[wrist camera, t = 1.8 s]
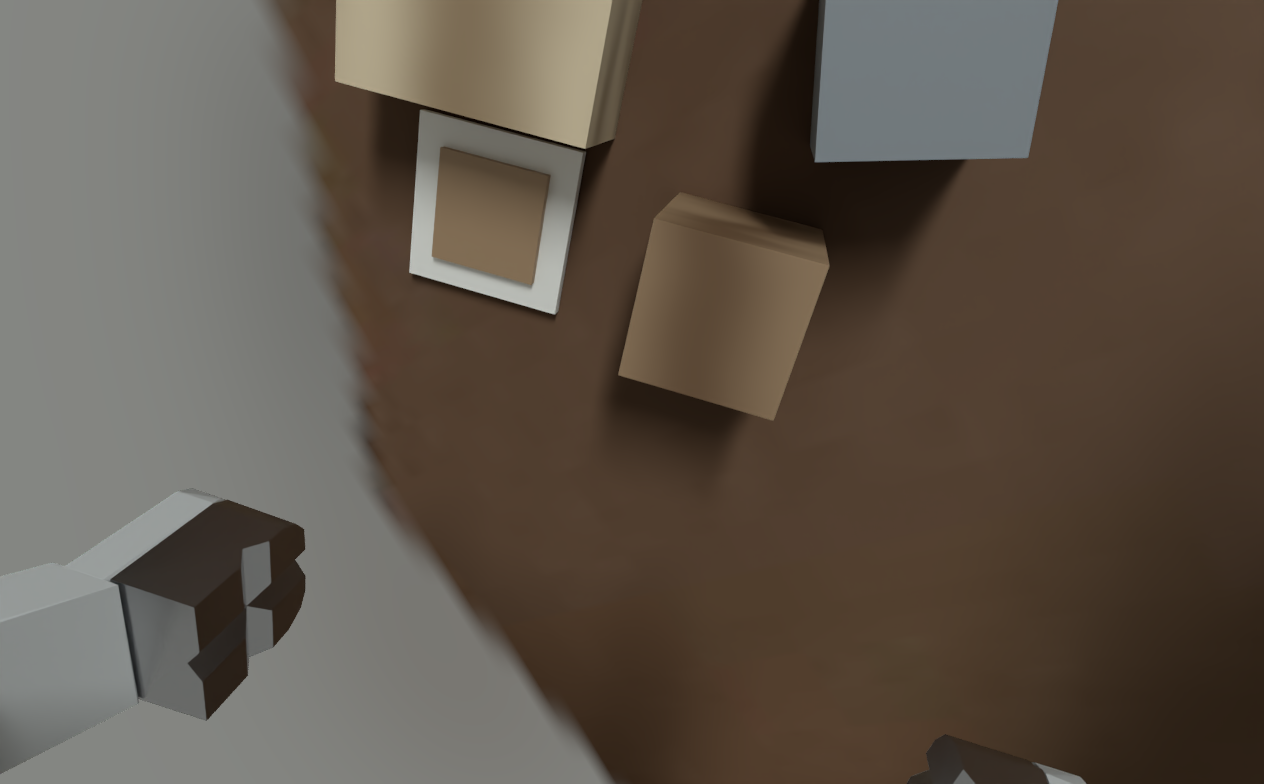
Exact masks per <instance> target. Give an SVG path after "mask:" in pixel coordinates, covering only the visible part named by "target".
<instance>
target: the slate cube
mask: <svg viewBox="0 0 1264 784" xmlns="http://www.w3.org/2000/svg"><path fill="white" fill-rule="evenodd" d="M1057 4H1058V0H819V10H818V26H817V42H816V57H815V73H814V89H813V104H812V120H811V136H810V148H811V151H812V154H813V158H814V161H815V162H851V161H899V160H946V159H994V158H1028V156H1029V150H1030V145H1031V140H1032V135H1033V129H1034V124H1035V119H1036V114H1037V109H1038V103H1039V98H1040V93H1041V88H1042V82H1043V77H1044V72H1045V67H1046V61H1047V56H1048V51H1049V46H1050V41H1051V35H1052V30H1053V25H1054V20H1055V14H1056V9H1057Z"/></svg>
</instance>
